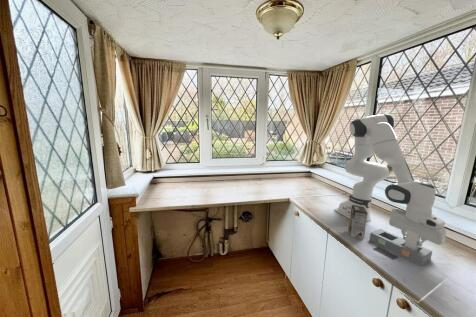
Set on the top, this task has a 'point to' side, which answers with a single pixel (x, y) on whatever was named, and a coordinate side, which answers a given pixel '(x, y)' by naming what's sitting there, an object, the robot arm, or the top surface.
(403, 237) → the robot arm
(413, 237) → the plug
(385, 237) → the socket block
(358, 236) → the coffee box
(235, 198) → the top surface
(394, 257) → the mat
